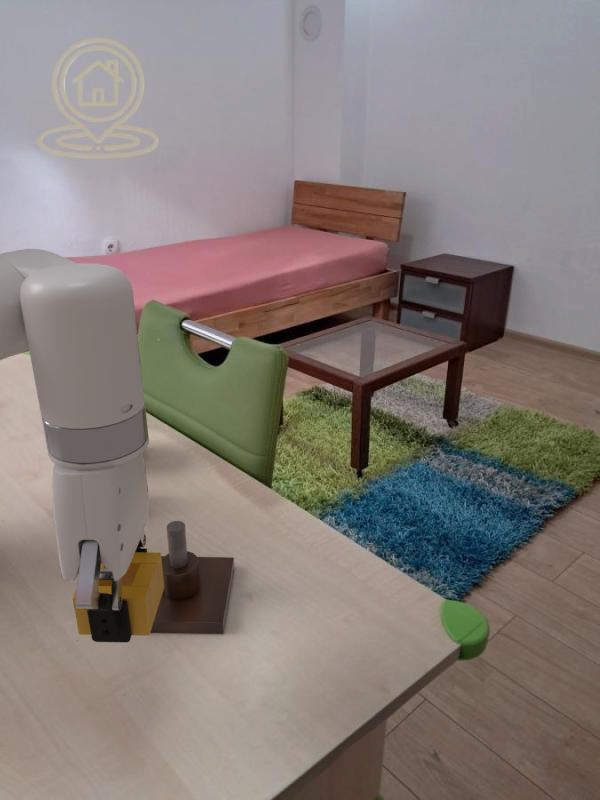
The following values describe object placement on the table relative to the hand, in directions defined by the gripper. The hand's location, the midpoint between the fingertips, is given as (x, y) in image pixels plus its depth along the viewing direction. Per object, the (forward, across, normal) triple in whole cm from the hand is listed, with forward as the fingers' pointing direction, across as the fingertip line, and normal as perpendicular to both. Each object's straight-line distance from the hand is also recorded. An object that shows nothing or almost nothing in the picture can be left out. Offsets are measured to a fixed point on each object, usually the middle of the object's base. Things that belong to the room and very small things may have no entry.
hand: (123, 609), depth 56 cm
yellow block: (0, 0, 0) cm, 0 cm away
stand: (+11, -14, +2) cm, 18 cm away
